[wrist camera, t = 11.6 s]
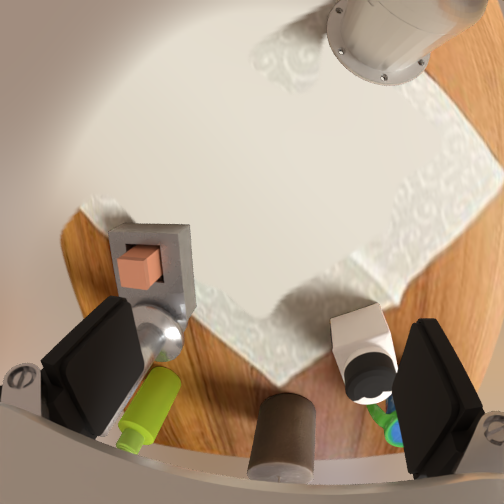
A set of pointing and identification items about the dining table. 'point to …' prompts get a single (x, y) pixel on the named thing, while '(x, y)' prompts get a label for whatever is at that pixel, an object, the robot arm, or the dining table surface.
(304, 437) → the pillar candle
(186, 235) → the slotted block
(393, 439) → the snack cup
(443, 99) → the dining table surface
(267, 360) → the dining table surface
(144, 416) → the soap dispenser
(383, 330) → the medicine bottle
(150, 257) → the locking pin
